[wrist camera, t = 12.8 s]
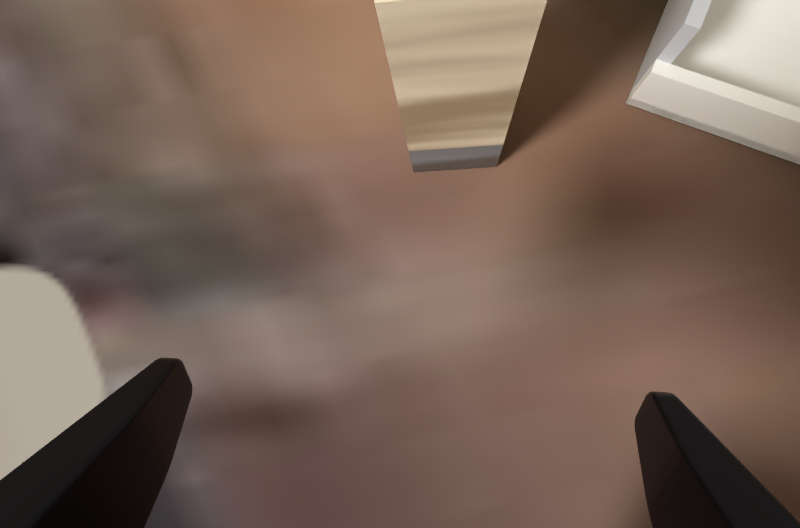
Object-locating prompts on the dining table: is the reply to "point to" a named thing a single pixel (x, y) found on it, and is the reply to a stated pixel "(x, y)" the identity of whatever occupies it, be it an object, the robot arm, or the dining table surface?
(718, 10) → the white open box
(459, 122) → the birch block
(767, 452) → the dining table surface
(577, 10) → the dining table surface
